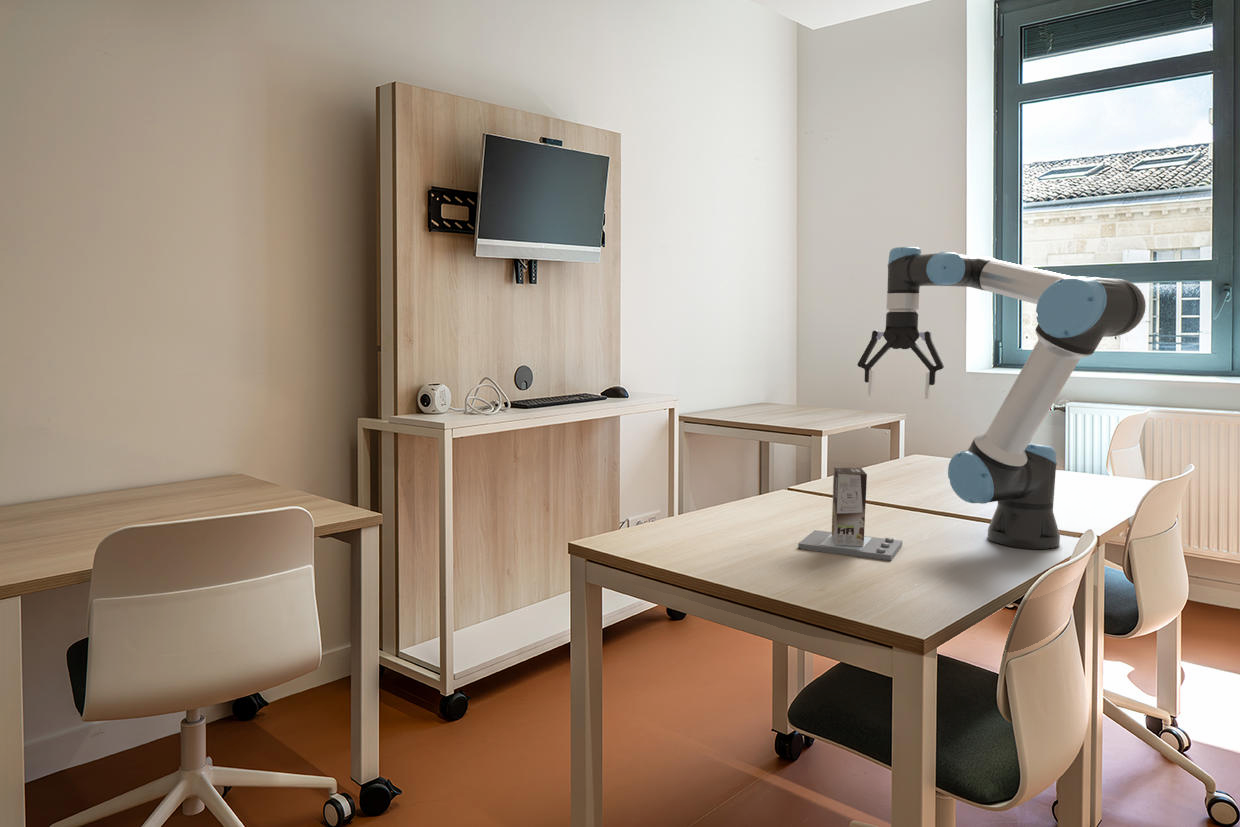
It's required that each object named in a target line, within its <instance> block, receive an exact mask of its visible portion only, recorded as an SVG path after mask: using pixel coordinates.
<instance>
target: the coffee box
mask: <svg viewBox="0 0 1240 827" xmlns="http://www.w3.org/2000/svg"><path fill="white" fill-rule="evenodd" d="M832 479H833V480H832V481H833V482H832V484H833V485H832V507H831V508H832V512H831V513H832V514H831V517H832V518H831V532H832V538H833V540H834V543H835V545H844V546H860V547H862V546H864V536H865V527H866V526H865V524H866V505H867V504H866V500H867V485H868V484H867V481H868V480H867V479H868V474H867V473H866V471H864V469H862V468H861V467H833V477H832Z"/></svg>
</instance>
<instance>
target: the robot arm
mask: <svg viewBox="0 0 1240 827" xmlns="http://www.w3.org/2000/svg"><path fill="white" fill-rule="evenodd" d="M939 286H940V287H958V288H959V287H962V288H963V287H964V288H967V287H968V288H973V289H978V290H980V291H986V292H990V293H993V294H997V295H1001V296H1004V297H1008V298H1012V299H1015V300H1020V301H1023V302H1027V303H1031V304H1035V305H1036V307H1035V308H1036V309H1035V313H1036V314H1037V316H1036V317H1035V318H1036V321H1037V326H1036V327H1035V334H1036V336H1037V338H1038V340H1037V342H1036V344H1035V345H1034V346H1033V349H1032V351H1031V352H1030V354H1029V356H1028V358H1027V360H1025V361H1026V362H1025V363H1024V365H1023V366H1022V369H1021V370H1020V372H1019V373H1018V375H1017V377H1016V379H1015V381H1014V383H1013V384H1012V386H1011V388H1010V389H1009V391H1008V393H1007V395H1006V397H1005V398H1004V400H1003V402H1002V404H1001V406H1000V407H999V409H998V411H997V412H996V414H995V416H994V418H993V420H992V421H991V424H990V425H989V426H988V428H987V431H986V432H980V433H977V434H976V435H975V437H974V438H973V440H972V442H971V444H970V445H969V447H968V449H967V450H961V451H959V452H957V453H955V454H954V455H953V456H952V457H951V459H950V460H949V463H948V467H947V477H948V479H949V484H950V487H951V490H953V492H954V493H955V495H956V496H958V498H959V499H961V500H962V501H964V502H966V503H970V504H982V505H983V504H984V505H985V504H988V503H994V502H997V507H996V509H995V511H994V514H993V516H992V518H991V521H990V523H989V525H988V528H987V539H988V540H990V541H991V542H993V543H995V542H996V544H998V543H999V545H1002V544H1003V545H1002V546H1006V545H1007V547H1011V548H1018V549H1026V548H1027V549H1028V550H1048V549H1049V548H1051V549H1054V548H1055V547H1056V548H1058V547H1059V546H1060V542H1061V539H1060V538H1061V536H1060V535H1061V534H1060V530H1059V528H1058V527H1059V526H1058V523H1057V521H1056V516H1055V514H1054V502H1055V501H1054V500H1055V486H1056V471H1057V465H1058V462H1057V451H1056V449H1055V448H1054V447H1053V446H1050V445H1046V444H1045V445H1043V444H1037V443H1033V442H1031V441H1032V440H1033V438H1034V436H1035V435H1036V433H1037V432H1038V429H1040V427H1041V425H1042V423H1043V421H1044V419H1045V418H1046V417H1047V415H1048V413H1049V411H1050V410H1051V408H1052V406H1053V404H1054V403H1055V402H1056V400H1057V398H1058V397H1059V395H1060V393H1061V391H1062V390H1063V388H1064V387H1065V385H1066V384H1067V381H1068V379H1069V378H1070V377H1071V375H1072V373H1073V371H1074V370H1075V368H1076V366H1077V365H1078V363H1079V361H1080V360H1081V359H1082V358H1085V357H1089V356H1092V355H1093V354H1094V353H1095V351H1096V349H1097V348H1098V347H1099V345H1100V343H1101V341H1102V340H1103V338H1107V337H1108V338H1111V337H1119V336H1122V335H1125V334H1128V333H1130V332H1131V331H1132V330H1133V329H1135V328H1136V327H1137V326H1139V324H1140V323H1141V321H1142V320H1143V318H1144V315H1145V313H1146V309H1147V308H1146V306H1147V305H1146V299H1145V296H1144V294H1143V292H1142V290H1141V289H1140V288H1139V287H1138V286H1137V285H1135V284H1134V283H1133V282H1131V281H1129V280H1126V279H1121V278H1113V277H1112V278H1107V277H1106V278H1105V277H1099V276H1098V277H1097V276H1094V277H1093V276H1092V277H1090V276H1088V275H1087V276H1084V275H1076V276H1071V275H1067V274H1062V273H1057V272H1053V271H1049V270H1045V269H1044V270H1043V269H1040V268H1039V269H1038V268H1035V267H1031V266H1025V265H1022V264H1016V263H1012V262H1008V261H1003V260H999V259H996V258H995V257H993V256H992V257H991V256H988V255H983V254H982V255H981V254H979V255H971V254H970V255H969V254H967V255H966V254H959V253H956V252H950V251H948V252H947V251H946V252H945V251H941V252H937V253H926V254H922V250H921V248H920V247H916V246H901V247H894V248H891V249H890V251H889V254H888V263H887V288H886V289H887V292H886V293H887V294H886V310H887V312H886V315H885V330H884V331H878V330H872V332H871V337H870V338H871V339H870V341H869V342H868V344H867V345H866V348H865V350H864V351H863V353H862V355H861V357H860V359H859V360H858V362H857V367H859V368H861V369H863V370H864V382H865V383H868V388H867V391H868V392H867V396H868V397H872V396H874V388H875V386H874V383H875V369H872V368H873V367H874V366H875V364H877V363H878V362H879V360H880V359H882V357H883V356H884V355H885V354H887V352H888V351H889V350H891V349H893V350H898V349H902V350H909V349H911V350H912V352H914V354H915V355H916V356H917V357H918V358H919V360H920V361H921V362H922V364H924V366H925V367H926V368H927V369H928V371H926V372H925V388H924V392H925V393H924V399H925V400H929V399H930V398H931V397H930V396H931V386H934V385H935V384H936V373H937V371H941V370H943V369H944V368H945V366H944V364H943V361H942V359H941V357H940V355H939V353H938V351H937V349H936V347H935V346H936V345H935V344H934V342H933V340H932V332H931V331H930V330H929V331H928V330H925V331H922V332H919V329H918V328H919V326H918V325H919V313H918V312H917V310H919V308H920V307H919V305H920V301H919V300H920V287H939ZM882 337H883V338H884V340H885V341H886V342H885V344H883V346H882V347H881V348H880V349H879V351H877V353H876V354H874V356H873V357H872V358H871V359H870V360H869V357H870V356H871V354H872V352H873V350H874V348H875V346H876V344H877V343H878V340H881V339H882ZM919 338H921V340H922V341H925V344H926V347H927V349H928V351H929V354H930V356H931V357H932V360H933V361H934V363H935V365H934V364H933V363H932V361H930V359H929V358H928V357H927V355H926V354H925V353H924V352H923V351H922V349H921V348H920V347H919V345H918V343H916V342H917V341H918V339H919ZM868 360H869V361H868ZM867 361H868V362H867ZM1056 548H1055V549H1056ZM1049 550H1050V549H1049Z"/></svg>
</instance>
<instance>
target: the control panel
mask: <svg viewBox="0 0 1240 827" xmlns="http://www.w3.org/2000/svg"><path fill="white" fill-rule="evenodd" d="M797 545H798V546H797V549H798V548H801V549H800V550H804V549H809V550H808V551H812V550H815V551H814V552H819V551H821V553H827V552H828V553H829V554H834V553H837V554H836V555H842V554H845V555H844V556H850V555H852V557H857V556H860V558H865V557H867V558H866V559H872V558H875V559H874V560H880V559H883V560H882V561H887V560H891V561H892V560H893V559H894V558H893V557H895V556H896V555H897V554H896V553H898V552H899V551H900V550H899V549H901V548H902V547H903V540H899V539H894V538H893V537H885V538H884V537H876V536H875V537H874V536H867V535H864V546H862V547H860V546H844V545H835V543H834V540H833V538H832V531H825V530H817V529H814V530H813V531H812V532H810V533H809V534H808V535H807V536H805V537H804V538H803V539H802V540H800V541H799V542H798V544H797ZM901 546H902V547H901ZM898 550H899V551H898ZM828 553H827V554H828ZM895 554H896V555H895ZM892 558H893V559H892Z"/></svg>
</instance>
